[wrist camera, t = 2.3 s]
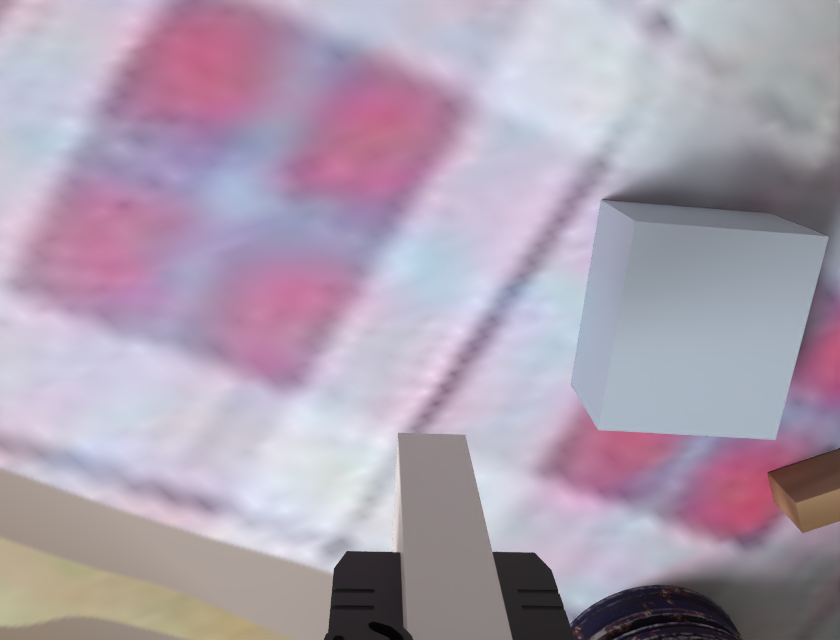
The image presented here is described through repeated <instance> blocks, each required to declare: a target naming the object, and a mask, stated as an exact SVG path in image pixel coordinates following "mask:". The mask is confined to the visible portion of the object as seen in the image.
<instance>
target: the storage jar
mask: <svg viewBox="0 0 840 640" xmlns="http://www.w3.org/2000/svg"><path fill="white" fill-rule="evenodd" d="M570 626H571V629H572V632H573V635H574V638H575V640H743V639H742V638H741V637H740V634H739V632H738V631H737V629H736V627H735V626H734V624H733V622H732V621H731V619H730V618H729V616H728V615H727V614H726V613H725V612H724V611H723V609H722V608H721V607H720V606H718V605H717V604H716V603H714V602H713V601H712V600H710V599H709V598H707V597H705V596H703V595H701V594H699V593H697V592H694V591H691V590H688V589H684V588H679V587H673V586H645V587H638V588H633V589H629V590H625V591H622V592H619V593H616V594H614V595H611V596H608V597H607V598H605V599H603V600H601V601H599V602H597V603H595V604H594V605H592V606H591V607H589V608H588V609H587V610H585V611H584V612H582V613H581V614H580V615H579V616H578V617H577V618H576V619H575V620H574V621H573V622H572V623H571V624H570Z"/></svg>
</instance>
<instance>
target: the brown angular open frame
mask: <svg viewBox="0 0 840 640" xmlns="http://www.w3.org/2000/svg"><path fill="white" fill-rule="evenodd" d="M768 477H769V481H770V485H771V490H772V494H773V498H774V502H775V503H776V504H777V505H778V506H779V507H780V508H781V509H782V511H783V512H784V513H785V514H786V515H787V516H788V517H789V518H790V519H791V521H792V522H793V523H794V524H795V525H796V526H797V527H798V528H799V529H800V531H801V532H802V533H804V532H807V531H810V530H813V529H817V528H820V527H823V526H826V525H829V524H832V523H835V522H838V521H840V449H838V450H835V451H832V452H829V453H826V454H823V455H820V456H817V457H814V458H811V459H808V460H805V461H802V462H799V463H796V464H793V465H790V466H787V467H784V468H781V469H778V470H775V471H772V472H769V473H768Z"/></svg>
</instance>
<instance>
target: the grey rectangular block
mask: <svg viewBox="0 0 840 640" xmlns="http://www.w3.org/2000/svg"><path fill="white" fill-rule="evenodd" d="M828 239H829V236H827V235H824V234H822V233H819V232H816V231H814V230H811V229H809V228H806V227H804V226H801V225H799V224H796V223H793V222H791V221H788V220H786V219H783V218H781V217H778V216H775V215H773V214H770V213H760V212H748V211H735V210H723V209H710V208H698V207H685V206H673V205H660V204H647V203H635V202H622V201H610V200H601V202H600V209H599V215H598V221H597V227H596V233H595V239H594V245H593V251H592V258H591V264H590V270H589V276H588V282H587V288H586V294H585V300H584V307H583V313H582V319H581V325H580V331H579V337H578V343H577V350H576V356H575V362H574V368H573V374H572V380H571V385H572V387H573V389H574V390H575V392H576V394H577V395H578V397H579V399H580V400H581V402H582V404H583V406H584V407H585V409H586V411H587V412H588V414H589V416H590V417H591V419H592V421H593V422H594V424H595V426H596V427H597V429H598V430H609V431H627V432H645V433H663V434H681V435H699V436H717V437H735V438H753V439H771V440H776V436H777V432H778V428H779V424H780V421H781V417H782V413H783V409H784V405H785V402H786V398H787V394H788V390H789V386H790V383H791V379H792V375H793V371H794V368H795V364H796V360H797V356H798V352H799V349H800V345H801V341H802V337H803V333H804V330H805V326H806V322H807V318H808V314H809V311H810V307H811V303H812V299H813V296H814V292H815V288H816V284H817V280H818V277H819V273H820V269H821V265H822V261H823V258H824V254H825V250H826V246H827V242H828Z"/></svg>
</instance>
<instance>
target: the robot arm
mask: <svg viewBox="0 0 840 640" xmlns="http://www.w3.org/2000/svg"><path fill="white" fill-rule="evenodd" d="M392 541H393V552H359V551H347V552H346V553H345V555H344V556H343V557H342V559H341V560H340V561H339V563H338V564H337V565H336V567H335V568H334V575H333V586H332V597H331V609H330V619H329V629H328V633H327V634H326V636H325V638H324V640H575V638H574V635H573V632H572V629H571V626H570V623H569V621H568V618H567V615H566V612H565V610H564V606H563V603H562V600H561V597H560V594H558V588H557V585H556V582H555V579H554V576H553V574H552V571H551V569H550V568H549V567H548V566H547V565H546V564H545V563H544V562H543V561H542V560H541V559H540V558H539V557H538V556H537V555H536V554H535V553H521V552H492V549H491V544H490V540H489V536H488V531H487V527H486V523H485V518H484V514H483V510H482V505H481V501H480V497H479V492H478V488H477V484H476V480H475V475H474V471H473V467H472V462H471V458H470V454H469V449H468V445H467V441H466V436H465V435H453V434H417V433H398V442H397V461H396V480H395V499H394V518H393V538H392Z"/></svg>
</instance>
